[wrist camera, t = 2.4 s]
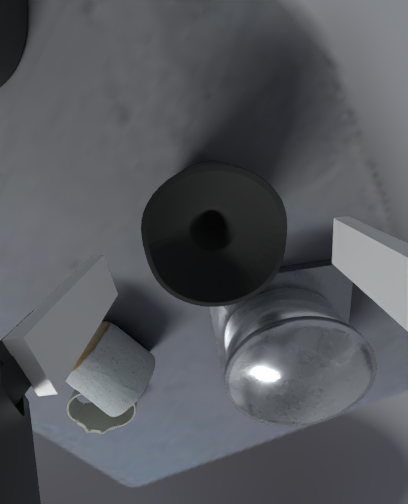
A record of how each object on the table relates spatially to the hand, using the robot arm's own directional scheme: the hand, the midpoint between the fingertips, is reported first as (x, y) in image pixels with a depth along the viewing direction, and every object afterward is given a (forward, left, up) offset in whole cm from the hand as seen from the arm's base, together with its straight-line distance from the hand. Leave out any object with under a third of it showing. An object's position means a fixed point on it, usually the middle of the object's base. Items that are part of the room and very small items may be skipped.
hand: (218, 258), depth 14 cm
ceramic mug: (+16, -16, -12) cm, 25 cm away
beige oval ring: (+24, -19, -12) cm, 33 cm away
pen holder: (0, 0, -12) cm, 12 cm away
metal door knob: (+17, +6, -11) cm, 21 cm away
